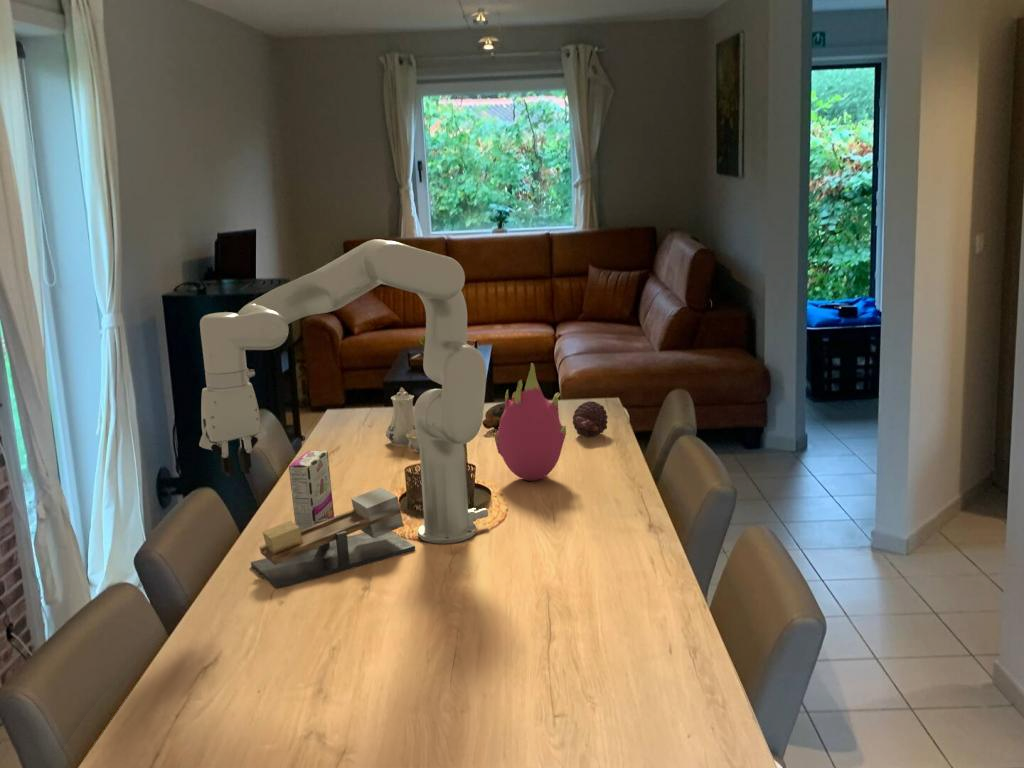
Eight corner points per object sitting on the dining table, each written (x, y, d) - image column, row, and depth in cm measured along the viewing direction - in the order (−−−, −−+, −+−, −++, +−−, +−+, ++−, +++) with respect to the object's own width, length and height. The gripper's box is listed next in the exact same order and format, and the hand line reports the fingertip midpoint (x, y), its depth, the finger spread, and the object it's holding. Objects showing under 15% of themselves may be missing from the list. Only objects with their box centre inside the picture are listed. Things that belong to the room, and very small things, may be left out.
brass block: (295, 538, 203) (290, 520, 202) (303, 545, 200) (299, 527, 199) (267, 550, 200) (262, 531, 199) (275, 556, 197) (270, 538, 196)
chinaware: (439, 461, 274) (442, 402, 271) (377, 458, 275) (379, 398, 271) (447, 433, 302) (450, 379, 298) (391, 430, 302) (393, 376, 298)
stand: (384, 531, 220) (382, 501, 219) (415, 550, 209) (413, 518, 207) (251, 566, 204) (247, 534, 203) (276, 589, 193) (273, 555, 191)
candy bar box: (314, 518, 230) (308, 449, 226) (335, 519, 229) (329, 450, 225) (294, 537, 219) (287, 464, 216) (316, 538, 218) (309, 465, 215)
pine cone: (572, 428, 296) (571, 394, 294) (606, 427, 295) (605, 393, 293) (573, 445, 279) (572, 410, 276) (609, 444, 278) (609, 408, 276)
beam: (387, 516, 216) (380, 487, 214) (403, 525, 210) (397, 496, 208) (264, 566, 202) (256, 536, 200) (278, 578, 196) (270, 547, 194)
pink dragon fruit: (571, 471, 256) (567, 355, 249) (564, 489, 243) (560, 366, 236) (502, 470, 259) (496, 355, 252) (491, 487, 246) (485, 367, 239)
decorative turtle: (534, 425, 300) (533, 400, 298) (499, 440, 290) (497, 414, 288) (510, 419, 307) (509, 394, 304) (475, 433, 297) (473, 407, 294)
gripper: (261, 369, 195) (270, 461, 199) (177, 383, 187) (188, 478, 191) (275, 375, 189) (285, 469, 193) (189, 389, 181) (201, 488, 185)
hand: (237, 473), depth 192 cm, fingers open, 2 cm apart
